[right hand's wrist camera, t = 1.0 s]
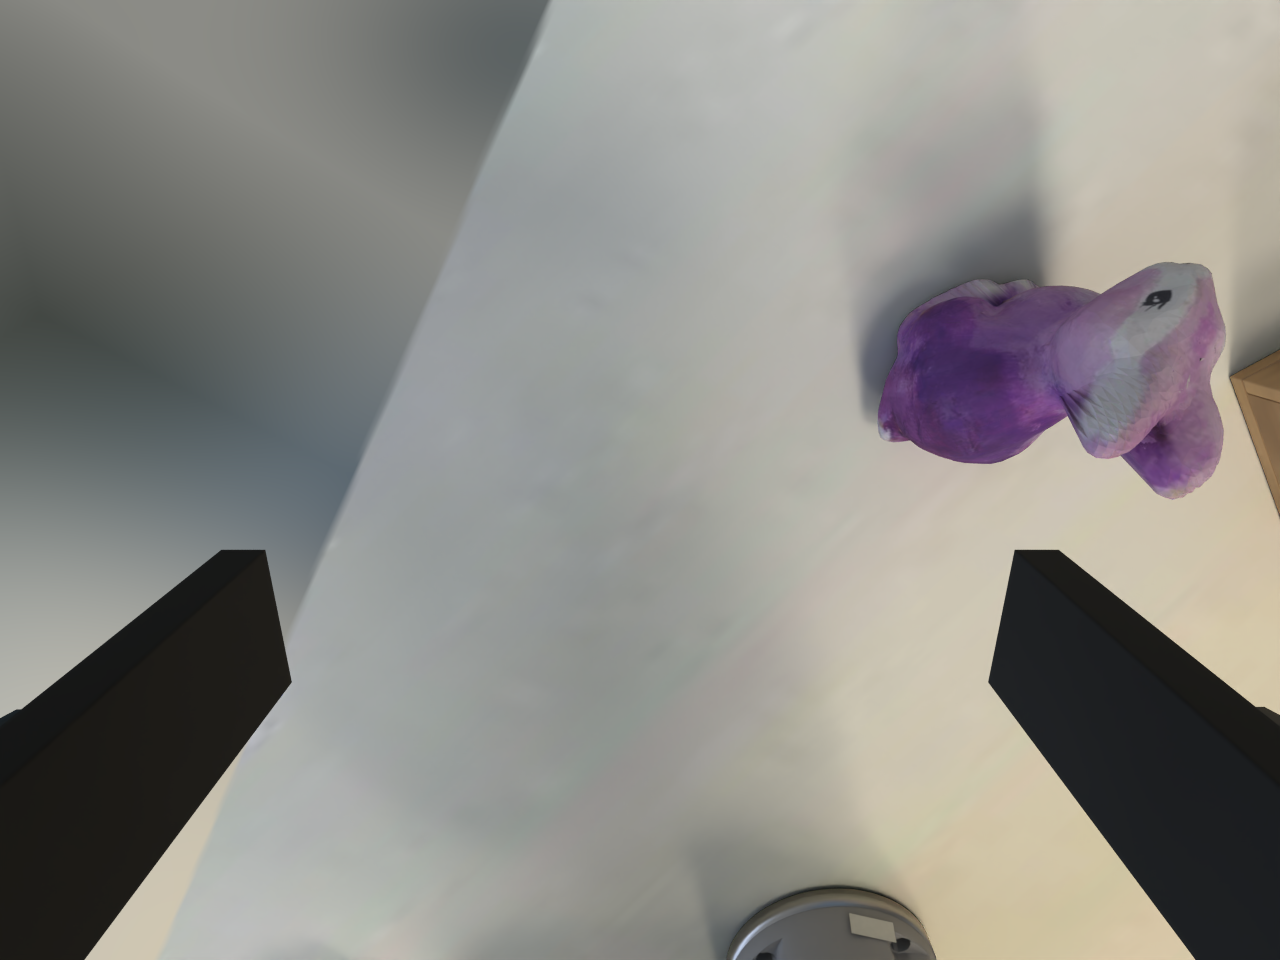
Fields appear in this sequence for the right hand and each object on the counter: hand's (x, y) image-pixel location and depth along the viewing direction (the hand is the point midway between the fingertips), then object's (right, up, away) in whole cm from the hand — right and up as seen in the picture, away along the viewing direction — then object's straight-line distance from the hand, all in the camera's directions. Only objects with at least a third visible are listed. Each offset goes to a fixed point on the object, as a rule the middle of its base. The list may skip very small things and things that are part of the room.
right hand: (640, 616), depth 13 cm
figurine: (+17, +9, +25) cm, 32 cm away
